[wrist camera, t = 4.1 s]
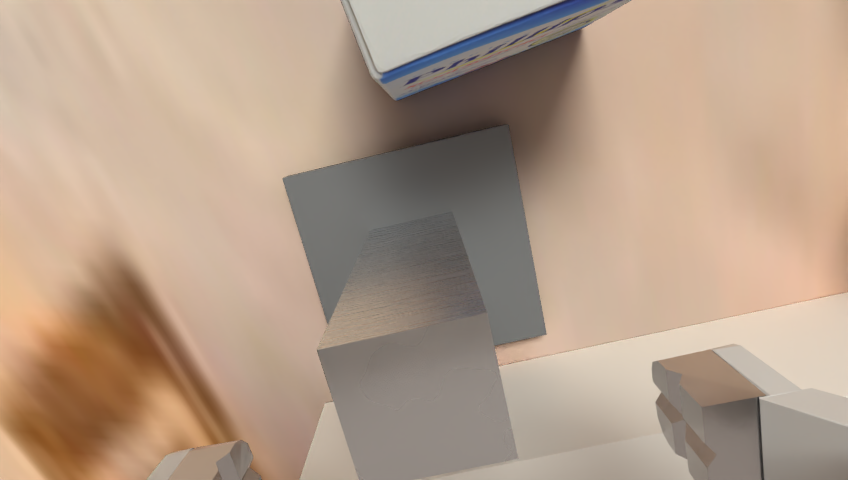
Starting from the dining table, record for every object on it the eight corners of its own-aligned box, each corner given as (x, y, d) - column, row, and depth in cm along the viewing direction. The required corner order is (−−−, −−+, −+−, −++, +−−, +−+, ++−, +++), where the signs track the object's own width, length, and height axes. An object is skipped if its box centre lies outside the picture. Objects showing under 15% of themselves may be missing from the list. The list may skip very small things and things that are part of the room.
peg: (390, 306, 20) (362, 490, 10) (370, 230, 19) (316, 350, 9) (469, 289, 19) (518, 458, 10) (452, 211, 19) (487, 312, 9)
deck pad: (347, 368, 21) (344, 377, 20) (288, 175, 19) (282, 178, 18) (542, 326, 21) (546, 334, 20) (504, 123, 19) (508, 124, 18)
